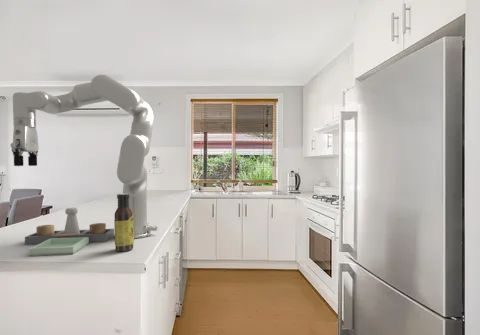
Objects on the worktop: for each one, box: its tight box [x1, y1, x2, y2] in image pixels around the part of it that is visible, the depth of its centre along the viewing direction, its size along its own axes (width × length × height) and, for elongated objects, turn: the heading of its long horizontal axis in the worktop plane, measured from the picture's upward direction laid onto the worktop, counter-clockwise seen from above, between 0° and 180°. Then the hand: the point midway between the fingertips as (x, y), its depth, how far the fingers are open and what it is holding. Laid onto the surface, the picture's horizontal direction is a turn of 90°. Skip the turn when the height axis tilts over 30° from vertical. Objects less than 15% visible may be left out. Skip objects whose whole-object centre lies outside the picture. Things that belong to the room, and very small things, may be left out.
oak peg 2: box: [89, 222, 107, 234], centre depth 125 cm, size 6×6×6 cm
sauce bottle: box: [113, 193, 135, 253], centre depth 109 cm, size 6×6×20 cm
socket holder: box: [24, 228, 115, 246], centre depth 124 cm, size 30×10×3 cm, turn 96°
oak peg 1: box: [35, 224, 55, 236], centre depth 123 cm, size 6×6×6 cm
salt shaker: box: [64, 207, 81, 235], centre depth 124 cm, size 6×6×13 cm
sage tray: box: [28, 237, 90, 257], centre depth 111 cm, size 14×14×2 cm
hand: (26, 165), depth 125 cm, fingers open, 9 cm apart
